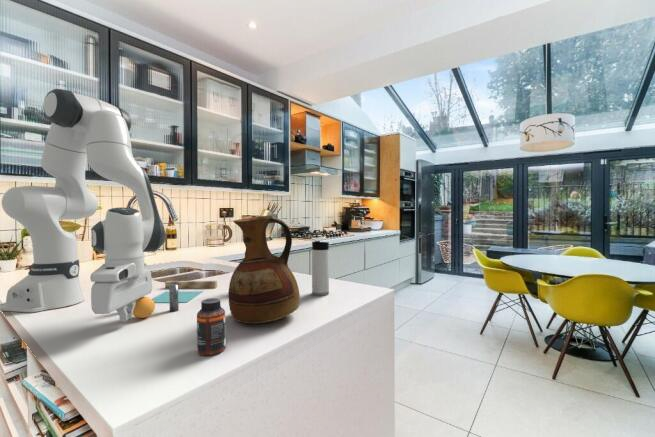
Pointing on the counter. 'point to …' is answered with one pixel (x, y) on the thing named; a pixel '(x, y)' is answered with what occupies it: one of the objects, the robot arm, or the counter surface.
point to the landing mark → (182, 296)
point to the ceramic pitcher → (262, 276)
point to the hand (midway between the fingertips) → (126, 319)
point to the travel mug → (320, 268)
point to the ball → (143, 307)
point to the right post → (173, 297)
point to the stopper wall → (192, 284)
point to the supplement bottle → (211, 327)
